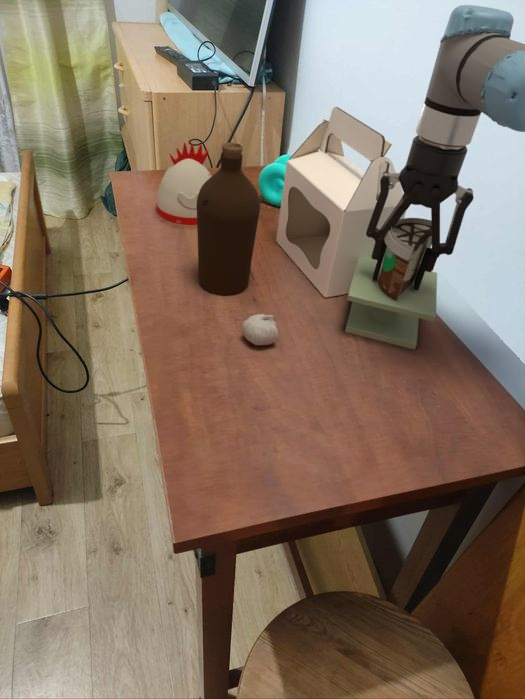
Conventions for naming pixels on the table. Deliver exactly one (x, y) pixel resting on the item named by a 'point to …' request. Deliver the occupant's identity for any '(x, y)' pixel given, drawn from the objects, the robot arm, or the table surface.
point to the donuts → (273, 180)
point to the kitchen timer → (182, 186)
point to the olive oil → (227, 226)
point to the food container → (404, 255)
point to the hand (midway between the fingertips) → (395, 280)
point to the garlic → (260, 329)
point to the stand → (389, 307)
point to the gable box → (334, 201)
